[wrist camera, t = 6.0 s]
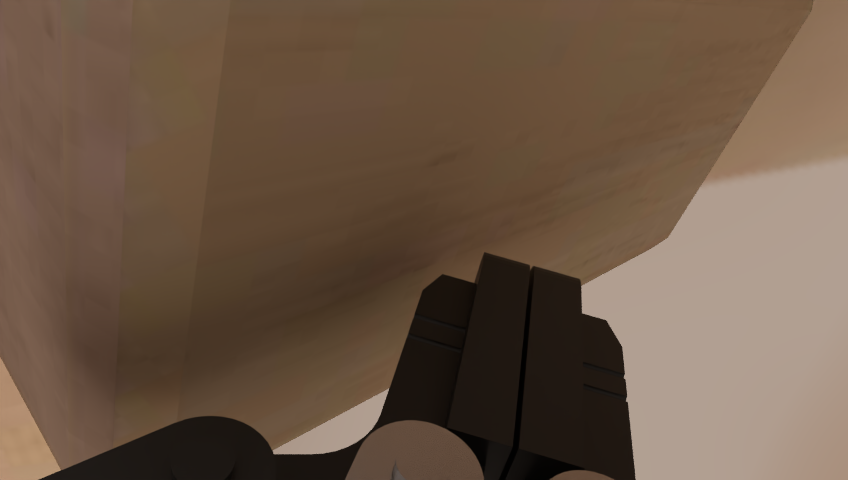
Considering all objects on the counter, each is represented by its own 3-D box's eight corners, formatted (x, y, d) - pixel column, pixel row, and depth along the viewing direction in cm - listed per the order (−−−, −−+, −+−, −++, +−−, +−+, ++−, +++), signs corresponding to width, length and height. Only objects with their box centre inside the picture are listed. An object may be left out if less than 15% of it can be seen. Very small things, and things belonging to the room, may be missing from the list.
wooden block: (473, 119, 28) (-95, 205, 14) (567, -132, 23) (-203, -383, 9) (665, 252, 23) (96, 574, 10) (842, -24, 18) (117, -200, 4)
